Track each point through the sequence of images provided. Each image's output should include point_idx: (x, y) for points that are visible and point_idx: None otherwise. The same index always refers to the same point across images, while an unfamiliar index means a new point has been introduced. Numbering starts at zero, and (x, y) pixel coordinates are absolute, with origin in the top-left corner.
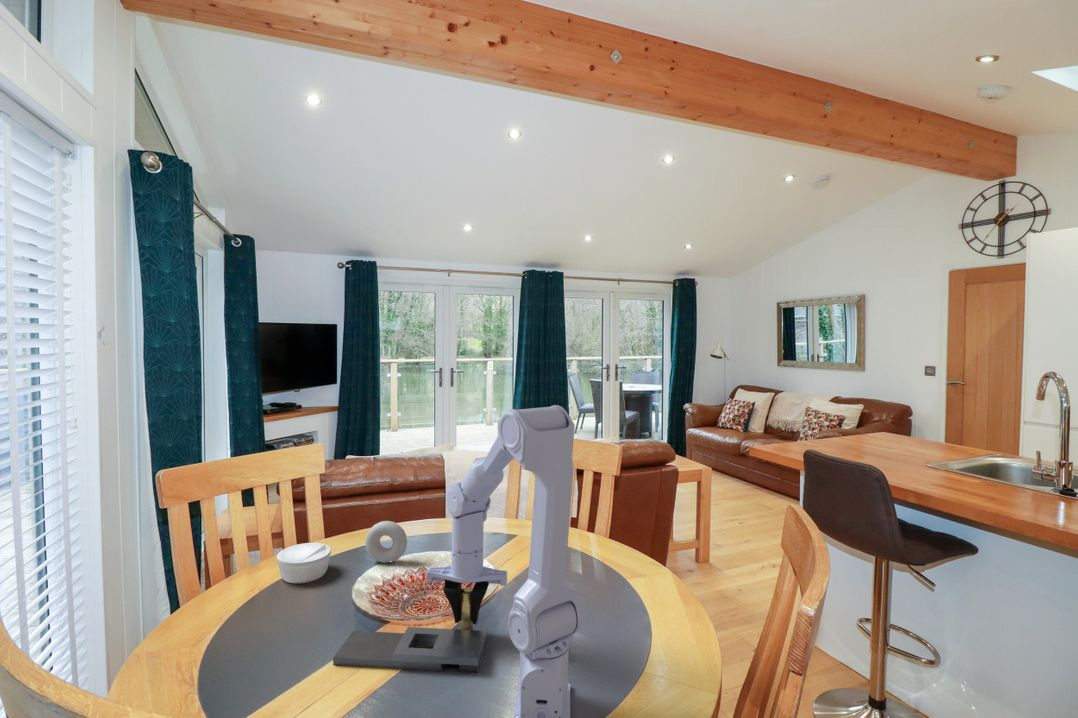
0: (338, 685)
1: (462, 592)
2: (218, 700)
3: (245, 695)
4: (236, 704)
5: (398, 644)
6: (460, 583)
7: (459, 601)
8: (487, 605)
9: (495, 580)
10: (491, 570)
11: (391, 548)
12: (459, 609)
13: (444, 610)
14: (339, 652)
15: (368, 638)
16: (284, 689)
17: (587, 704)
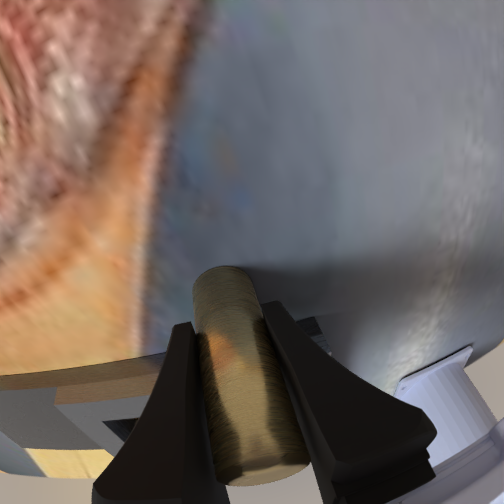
0: (81, 459)
1: (243, 483)
2: (3, 468)
3: (13, 466)
4: (22, 472)
5: (104, 448)
6: (200, 494)
7: (197, 409)
8: (231, 18)
9: (463, 469)
10: (475, 501)
11: None
12: (199, 380)
13: (23, 161)
14: (15, 440)
15: (5, 410)
16: (32, 463)
17: (476, 356)
